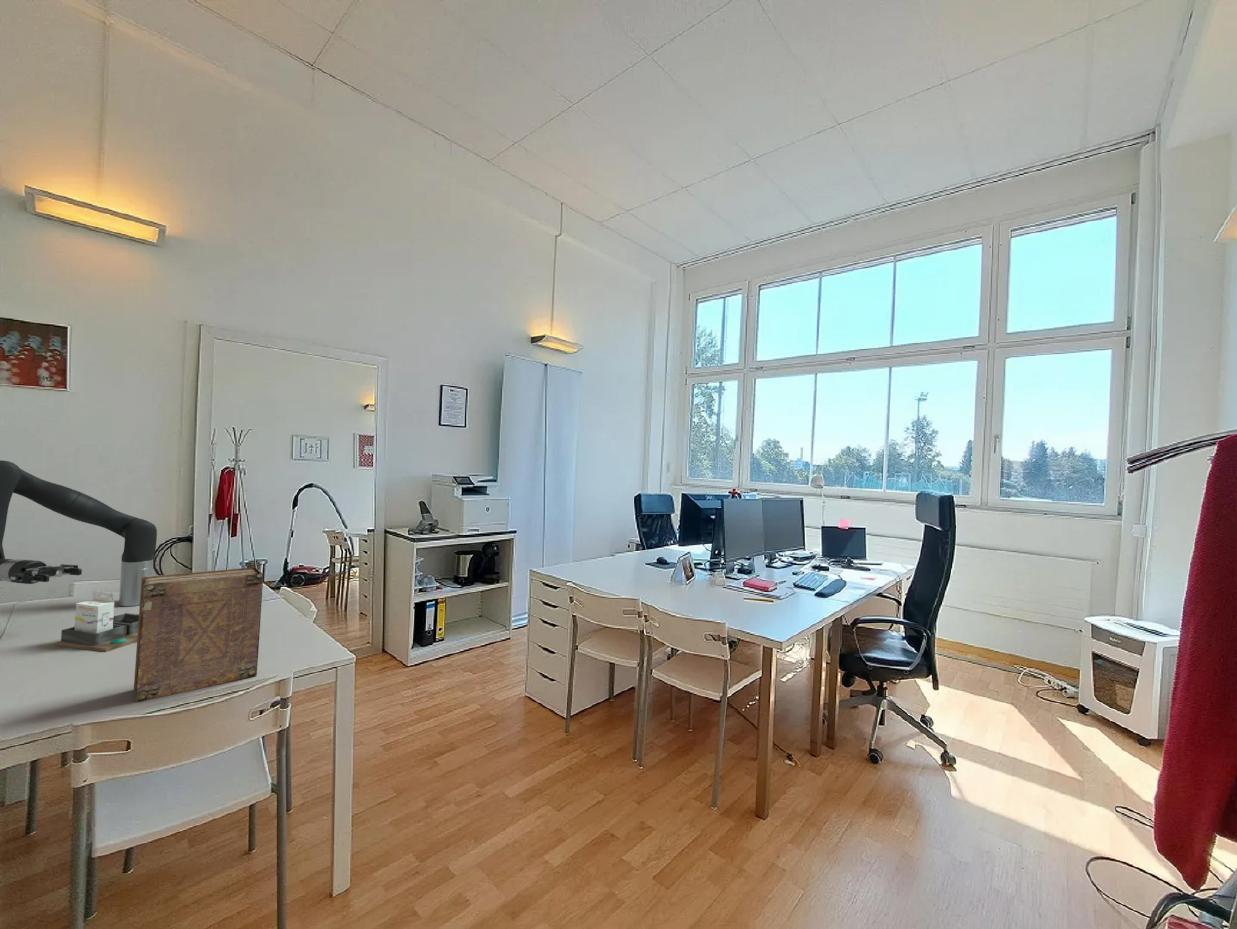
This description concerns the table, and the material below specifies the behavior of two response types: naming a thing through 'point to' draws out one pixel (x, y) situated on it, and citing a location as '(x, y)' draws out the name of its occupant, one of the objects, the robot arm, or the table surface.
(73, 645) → the socket board
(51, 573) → the robot arm
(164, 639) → the book
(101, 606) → the ink cartridge box
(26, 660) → the table surface
